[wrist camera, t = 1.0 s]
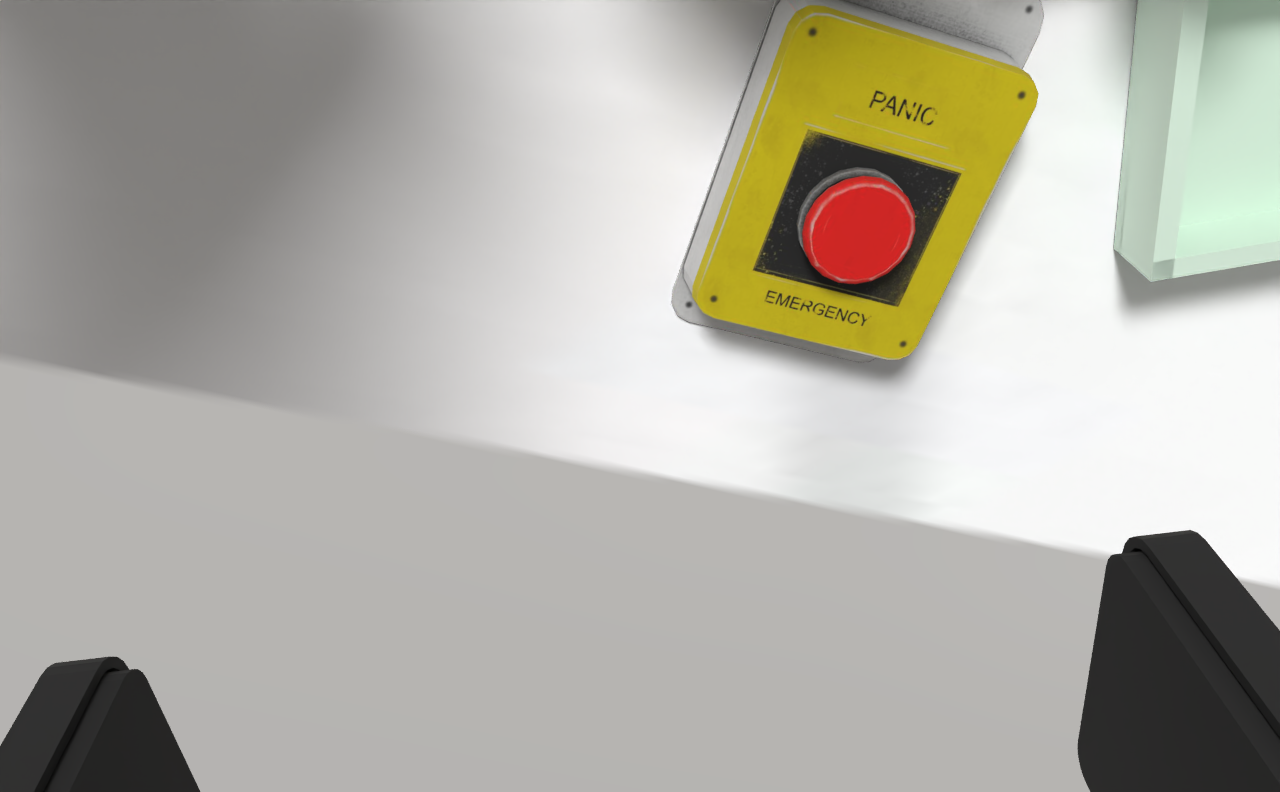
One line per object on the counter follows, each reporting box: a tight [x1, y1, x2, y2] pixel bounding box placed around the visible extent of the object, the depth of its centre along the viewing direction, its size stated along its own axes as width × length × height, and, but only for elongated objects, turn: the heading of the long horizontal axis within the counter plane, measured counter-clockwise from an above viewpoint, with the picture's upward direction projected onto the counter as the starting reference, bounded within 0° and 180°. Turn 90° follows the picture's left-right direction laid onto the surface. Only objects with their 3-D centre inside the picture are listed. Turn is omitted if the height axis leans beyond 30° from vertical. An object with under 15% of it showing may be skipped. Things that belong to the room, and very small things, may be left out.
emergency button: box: [671, 0, 1044, 362], centre depth 38 cm, size 9×4×15 cm
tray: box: [1114, 0, 1280, 282], centre depth 37 cm, size 11×9×3 cm
